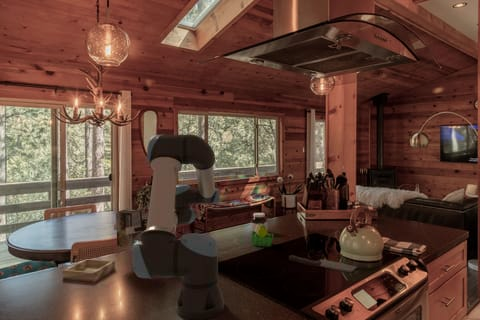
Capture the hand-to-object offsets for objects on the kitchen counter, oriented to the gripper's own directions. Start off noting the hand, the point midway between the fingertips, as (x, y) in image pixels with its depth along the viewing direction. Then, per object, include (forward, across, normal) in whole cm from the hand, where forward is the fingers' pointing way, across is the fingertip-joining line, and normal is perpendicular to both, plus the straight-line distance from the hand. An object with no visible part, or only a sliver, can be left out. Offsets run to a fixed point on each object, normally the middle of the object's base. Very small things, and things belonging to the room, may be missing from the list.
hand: (119, 229), depth 139 cm
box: (+10, +6, -18) cm, 22 cm away
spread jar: (-85, -4, -18) cm, 87 cm away
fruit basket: (-68, -20, -18) cm, 74 cm away
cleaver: (-64, -57, -19) cm, 88 cm away
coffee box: (-4, 0, -9) cm, 10 cm away
